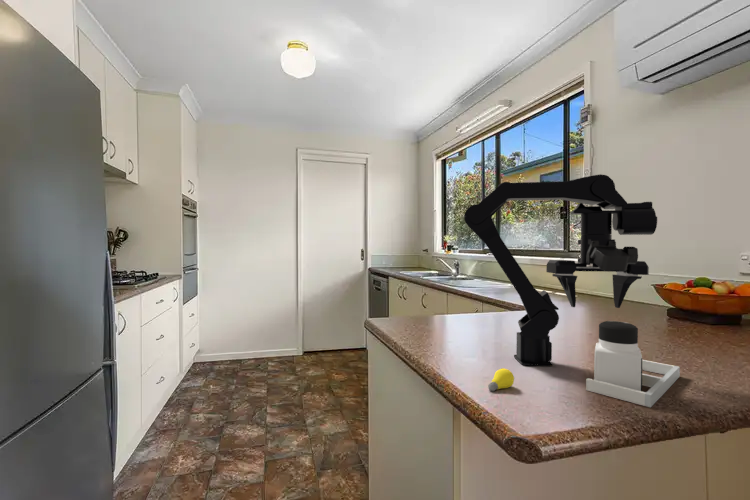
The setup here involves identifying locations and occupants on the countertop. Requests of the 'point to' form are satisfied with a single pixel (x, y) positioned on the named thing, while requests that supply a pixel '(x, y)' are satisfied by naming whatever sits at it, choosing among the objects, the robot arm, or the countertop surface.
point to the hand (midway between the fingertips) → (595, 307)
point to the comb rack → (655, 383)
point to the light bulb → (501, 379)
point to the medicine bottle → (618, 355)
